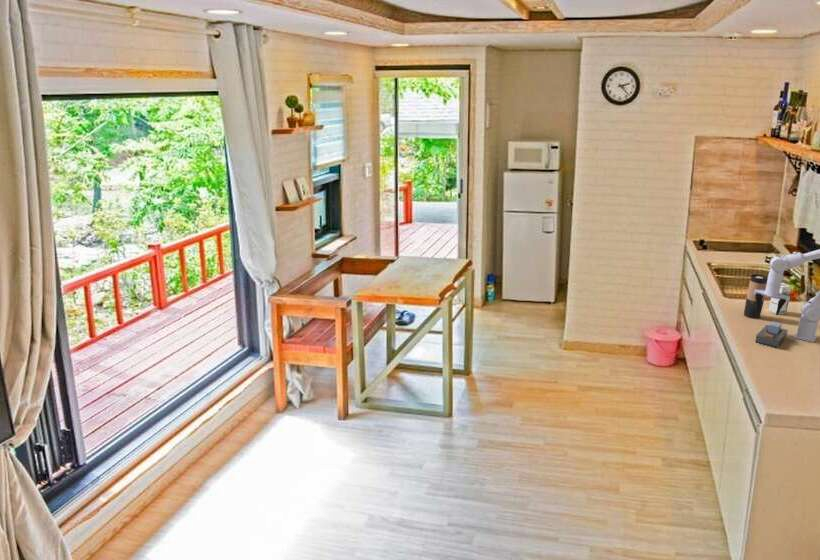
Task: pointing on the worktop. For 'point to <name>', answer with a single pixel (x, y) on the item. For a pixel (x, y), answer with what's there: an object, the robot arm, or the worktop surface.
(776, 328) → the plug
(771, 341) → the grey slotted block
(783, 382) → the worktop surface
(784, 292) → the syrup box
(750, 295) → the travel mug
